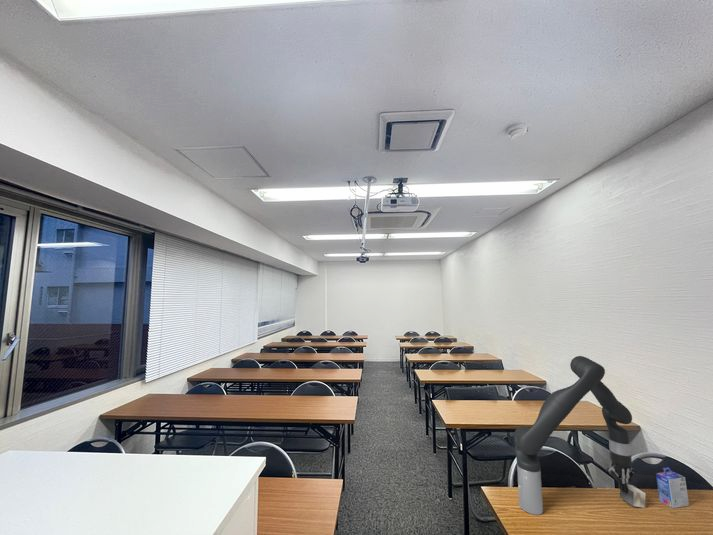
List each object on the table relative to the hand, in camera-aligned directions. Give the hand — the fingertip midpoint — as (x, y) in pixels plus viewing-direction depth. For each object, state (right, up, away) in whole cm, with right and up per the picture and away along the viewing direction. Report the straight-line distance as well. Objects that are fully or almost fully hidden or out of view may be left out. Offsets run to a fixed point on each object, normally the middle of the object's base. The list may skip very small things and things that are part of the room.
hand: (623, 491), depth 134 cm
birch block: (+1, -1, 0) cm, 2 cm away
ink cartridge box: (+23, -6, 0) cm, 24 cm away
